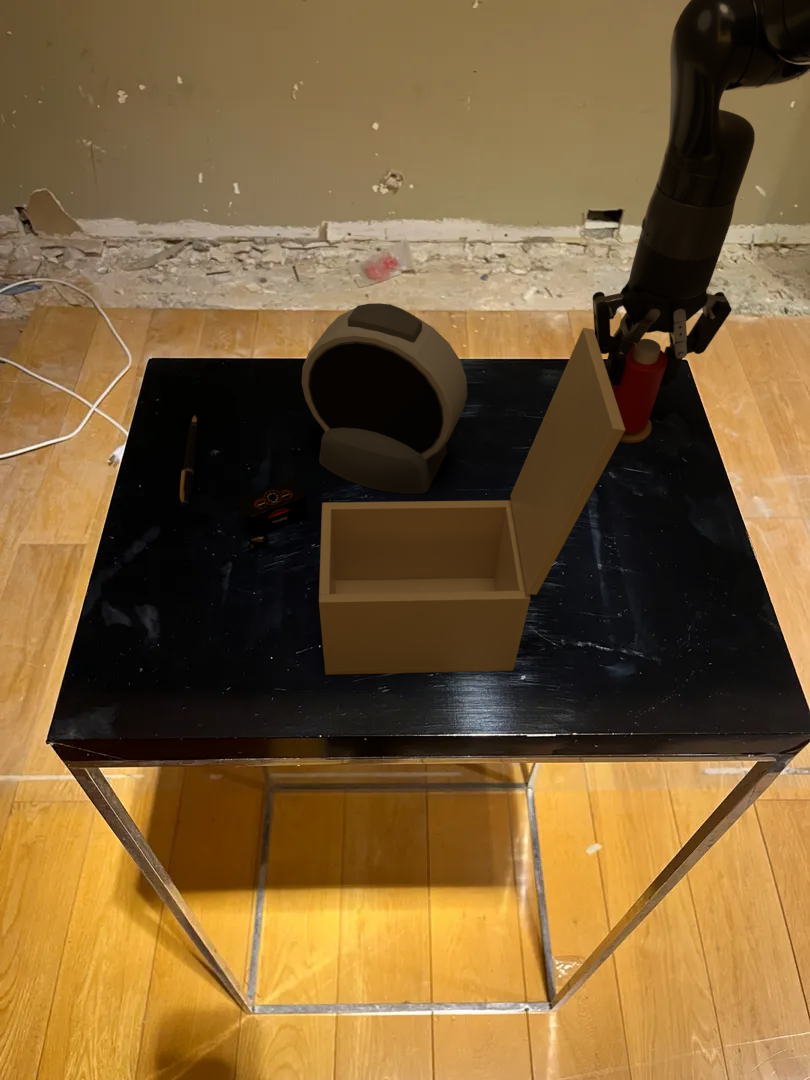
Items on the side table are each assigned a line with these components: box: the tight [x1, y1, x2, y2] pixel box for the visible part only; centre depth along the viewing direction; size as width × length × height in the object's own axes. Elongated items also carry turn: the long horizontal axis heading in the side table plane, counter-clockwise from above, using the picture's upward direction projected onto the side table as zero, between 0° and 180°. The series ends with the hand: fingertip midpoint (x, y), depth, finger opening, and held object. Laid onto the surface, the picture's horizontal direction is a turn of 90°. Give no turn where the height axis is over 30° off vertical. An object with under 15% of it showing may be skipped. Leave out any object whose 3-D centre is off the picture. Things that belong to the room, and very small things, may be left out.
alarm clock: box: [301, 302, 468, 495], centre depth 83 cm, size 16×10×18 cm, turn 69°
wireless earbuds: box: [238, 479, 308, 552], centre depth 82 cm, size 5×7×3 cm, turn 119°
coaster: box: [619, 418, 653, 444], centre depth 94 cm, size 6×6×1 cm
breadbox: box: [318, 499, 532, 676], centre depth 72 cm, size 17×11×11 cm, turn 92°
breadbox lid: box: [509, 327, 625, 596], centre depth 61 cm, size 18×11×1 cm
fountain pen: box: [179, 414, 198, 509], centre depth 88 cm, size 14×1×2 cm, turn 5°
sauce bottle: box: [612, 338, 668, 433], centre depth 90 cm, size 5×5×10 cm
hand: (638, 380), depth 90 cm, fingers closed on sauce bottle, 4 cm apart
